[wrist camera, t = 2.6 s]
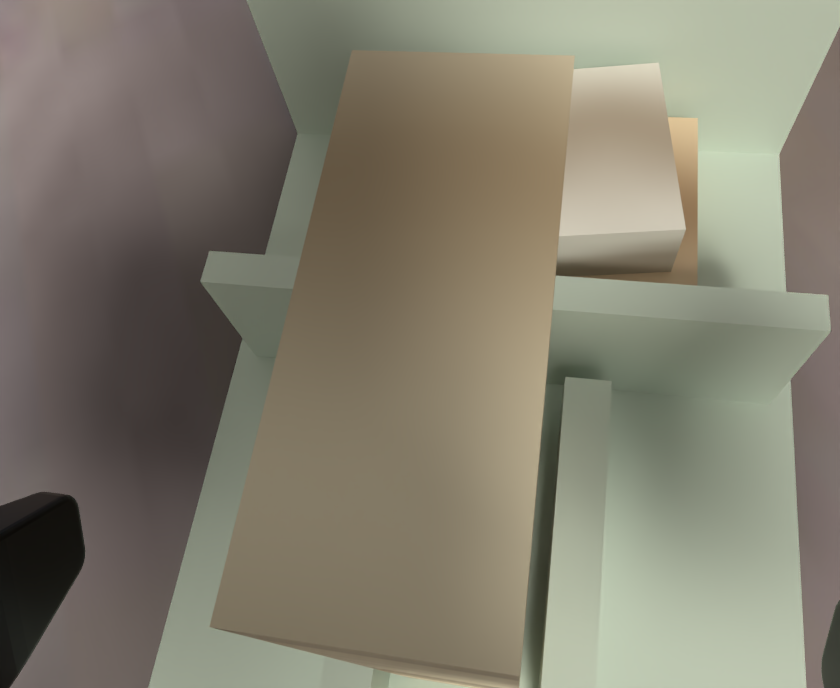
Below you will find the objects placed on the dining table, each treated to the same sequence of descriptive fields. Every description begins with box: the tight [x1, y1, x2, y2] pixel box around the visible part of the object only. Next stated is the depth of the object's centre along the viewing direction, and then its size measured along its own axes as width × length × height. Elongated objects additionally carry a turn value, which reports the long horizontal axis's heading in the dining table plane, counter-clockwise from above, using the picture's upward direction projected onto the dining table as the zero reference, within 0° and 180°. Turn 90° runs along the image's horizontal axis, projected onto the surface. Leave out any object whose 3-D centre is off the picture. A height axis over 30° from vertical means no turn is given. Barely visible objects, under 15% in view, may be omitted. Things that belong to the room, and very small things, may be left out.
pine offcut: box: [572, 117, 698, 286], centre depth 20 cm, size 6×9×2 cm, turn 81°
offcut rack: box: [148, 0, 840, 688], centre depth 17 cm, size 18×14×7 cm
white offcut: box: [556, 63, 686, 277], centre depth 19 cm, size 5×7×2 cm, turn 89°
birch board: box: [209, 50, 575, 688], centre depth 12 cm, size 6×2×12 cm, turn 171°
